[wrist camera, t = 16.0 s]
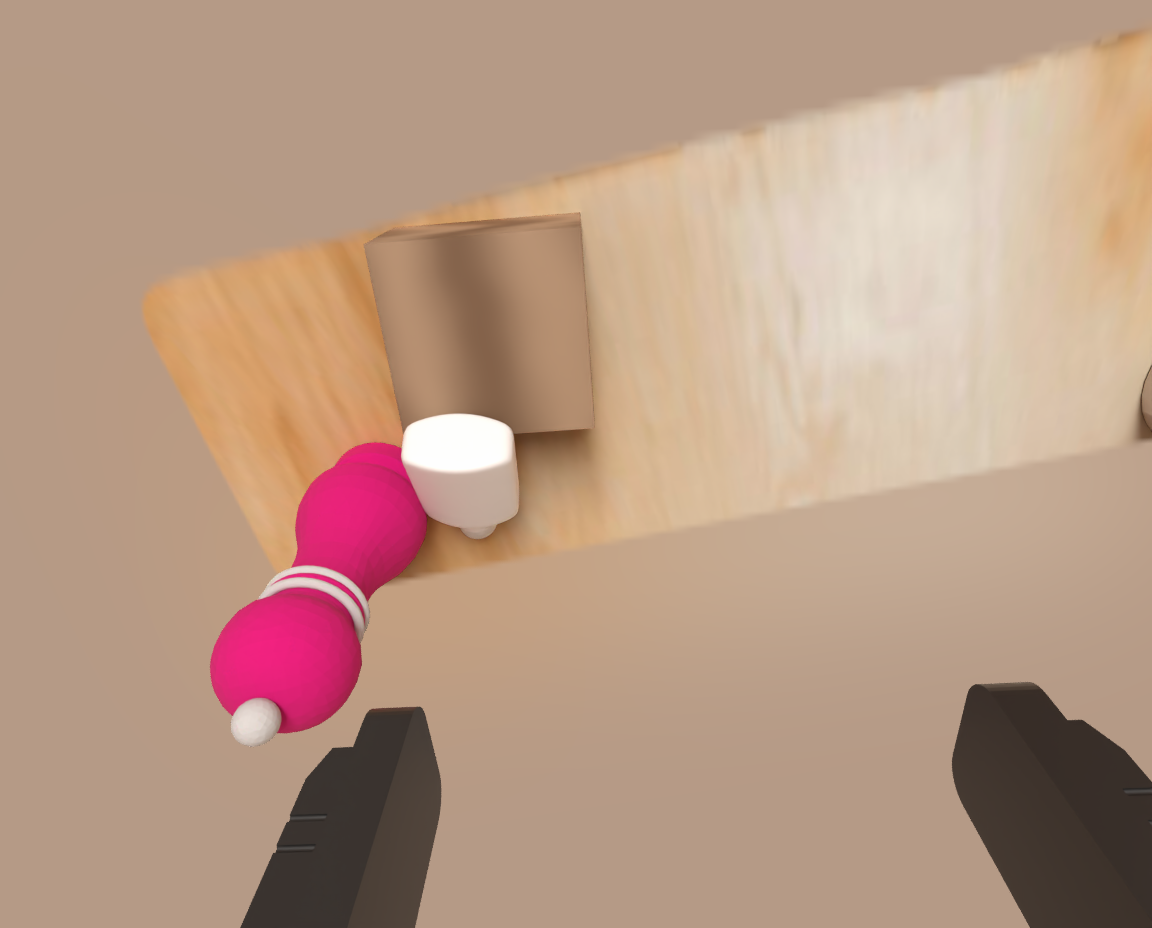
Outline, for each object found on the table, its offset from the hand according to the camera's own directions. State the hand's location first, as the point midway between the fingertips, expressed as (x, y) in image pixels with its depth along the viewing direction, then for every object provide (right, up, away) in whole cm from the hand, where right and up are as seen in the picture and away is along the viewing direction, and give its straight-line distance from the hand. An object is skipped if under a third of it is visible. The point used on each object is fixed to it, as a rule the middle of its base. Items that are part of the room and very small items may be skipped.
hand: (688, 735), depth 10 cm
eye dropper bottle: (-8, +5, +23) cm, 25 cm away
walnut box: (-6, +13, +28) cm, 32 cm away
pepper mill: (-14, +3, +33) cm, 36 cm away
